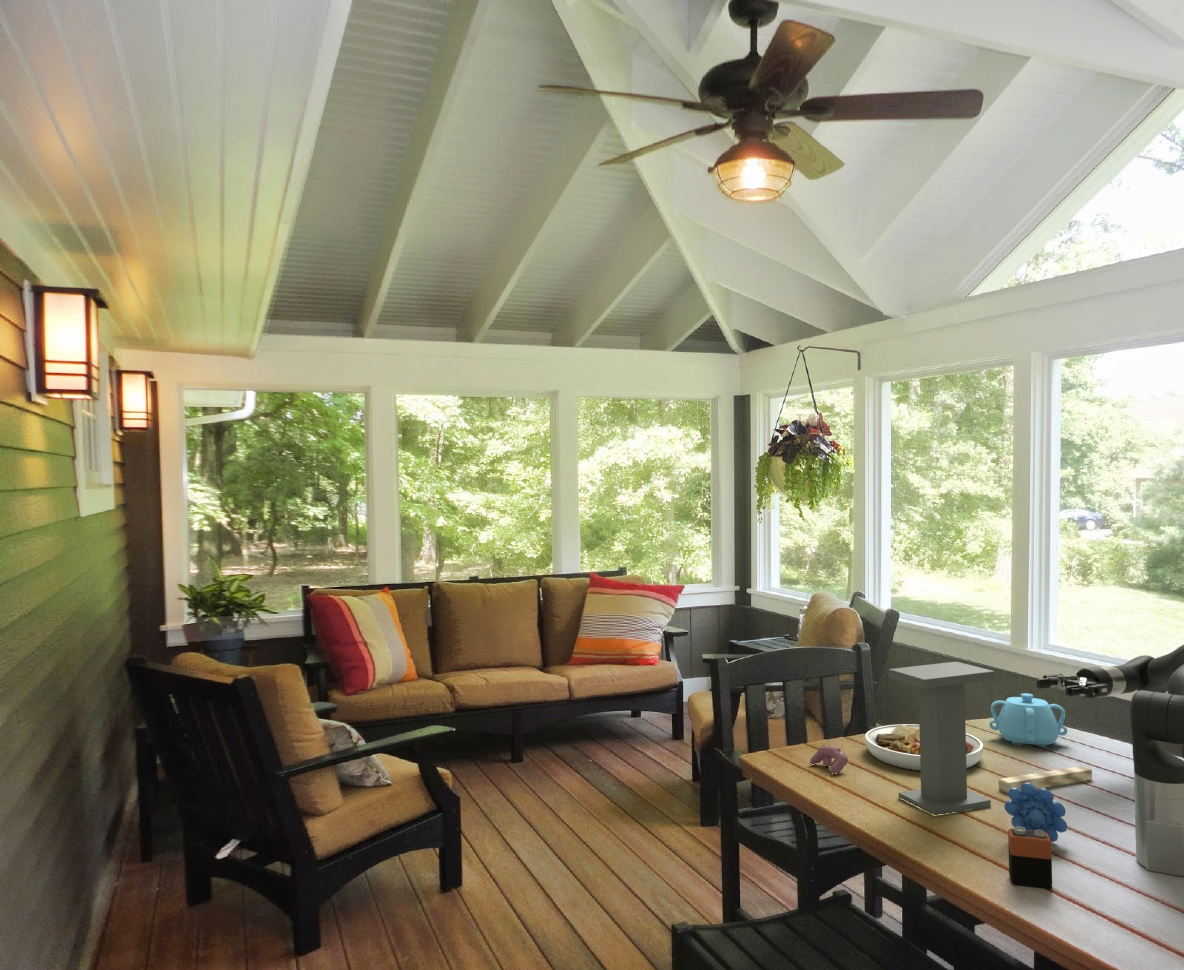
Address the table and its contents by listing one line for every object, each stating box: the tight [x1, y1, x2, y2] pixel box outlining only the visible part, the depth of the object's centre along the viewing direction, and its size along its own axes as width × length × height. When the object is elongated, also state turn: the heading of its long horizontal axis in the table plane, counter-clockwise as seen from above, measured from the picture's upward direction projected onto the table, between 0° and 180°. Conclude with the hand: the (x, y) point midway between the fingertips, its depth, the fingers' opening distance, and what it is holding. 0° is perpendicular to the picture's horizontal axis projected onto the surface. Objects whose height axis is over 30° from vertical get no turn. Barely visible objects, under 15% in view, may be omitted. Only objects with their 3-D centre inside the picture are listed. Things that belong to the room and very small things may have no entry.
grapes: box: [1003, 783, 1068, 843], centre depth 177 cm, size 12×7×12 cm, turn 68°
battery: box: [1007, 826, 1053, 890], centre depth 160 cm, size 4×7×10 cm, turn 71°
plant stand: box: [888, 661, 996, 815], centre depth 200 cm, size 20×12×31 cm, turn 110°
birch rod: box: [998, 765, 1093, 795], centre depth 210 cm, size 26×3×3 cm, turn 108°
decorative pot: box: [989, 692, 1068, 748], centre depth 245 cm, size 16×16×14 cm
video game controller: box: [809, 744, 849, 774], centre depth 225 cm, size 10×5×7 cm, turn 24°
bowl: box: [864, 723, 984, 772], centre depth 233 cm, size 30×30×8 cm
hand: (1052, 687), depth 212 cm, fingers open, 8 cm apart
